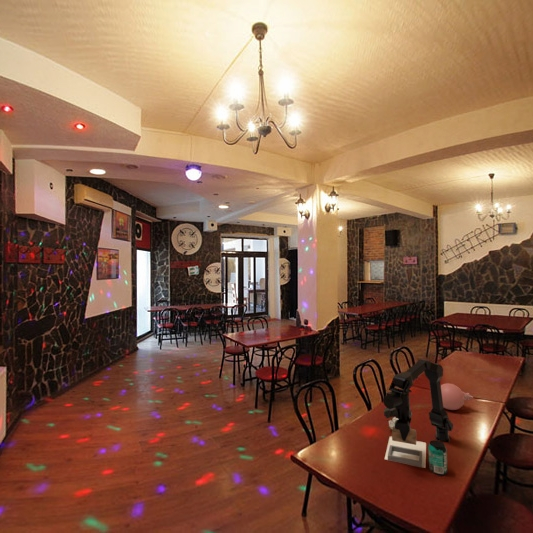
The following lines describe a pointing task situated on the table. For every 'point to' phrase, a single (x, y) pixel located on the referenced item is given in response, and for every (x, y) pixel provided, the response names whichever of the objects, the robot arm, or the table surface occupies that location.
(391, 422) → the game die
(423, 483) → the table surface
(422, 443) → the mat
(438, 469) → the beverage can
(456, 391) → the balloon
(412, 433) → the card box
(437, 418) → the robot arm
